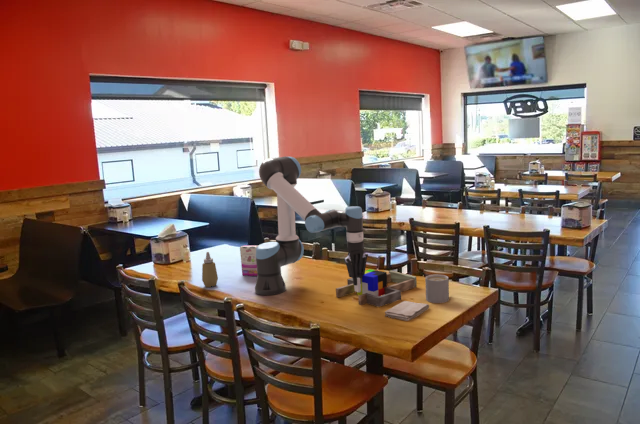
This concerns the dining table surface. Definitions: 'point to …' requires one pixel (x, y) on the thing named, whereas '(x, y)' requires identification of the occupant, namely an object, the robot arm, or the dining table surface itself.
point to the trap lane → (390, 292)
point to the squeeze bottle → (209, 272)
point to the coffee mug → (437, 288)
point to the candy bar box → (248, 260)
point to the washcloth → (406, 310)
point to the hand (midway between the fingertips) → (357, 291)
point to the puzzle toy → (373, 282)
